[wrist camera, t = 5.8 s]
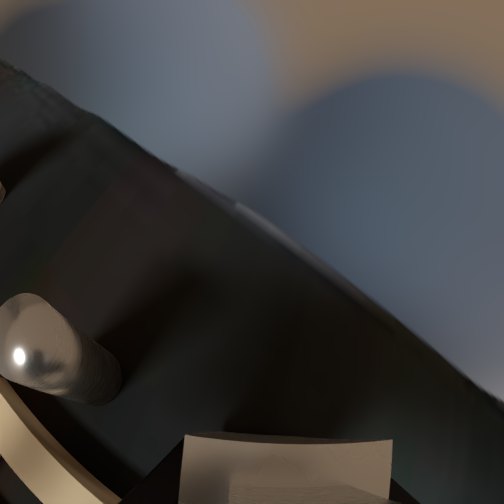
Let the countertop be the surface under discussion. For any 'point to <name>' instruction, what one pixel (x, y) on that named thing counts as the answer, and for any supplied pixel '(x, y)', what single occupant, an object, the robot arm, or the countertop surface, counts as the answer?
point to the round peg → (54, 353)
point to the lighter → (2, 192)
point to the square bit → (283, 470)
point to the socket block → (44, 457)
